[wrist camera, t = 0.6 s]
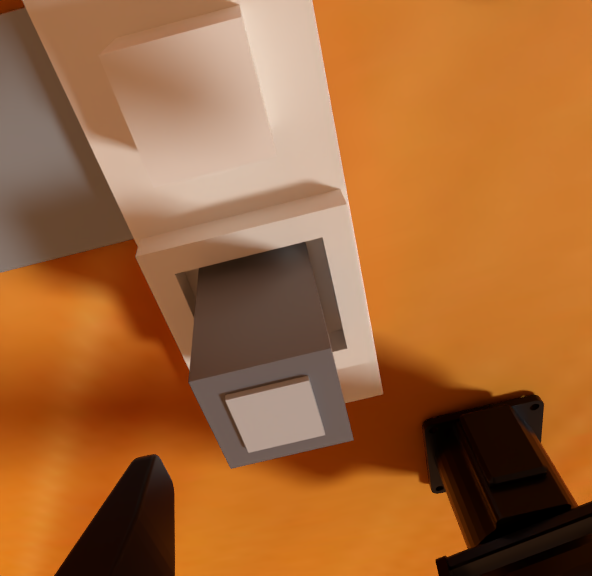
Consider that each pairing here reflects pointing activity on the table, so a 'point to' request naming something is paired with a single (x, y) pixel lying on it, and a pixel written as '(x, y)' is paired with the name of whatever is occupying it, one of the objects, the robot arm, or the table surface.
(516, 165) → the table surface
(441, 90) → the table surface
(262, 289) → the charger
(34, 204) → the coaster
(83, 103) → the power strip
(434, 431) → the robot arm
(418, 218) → the table surface
